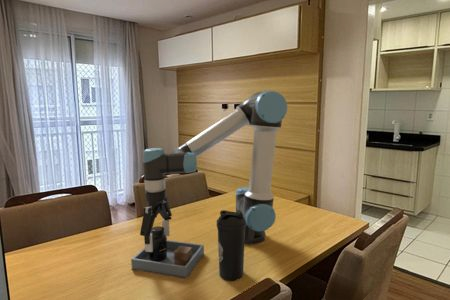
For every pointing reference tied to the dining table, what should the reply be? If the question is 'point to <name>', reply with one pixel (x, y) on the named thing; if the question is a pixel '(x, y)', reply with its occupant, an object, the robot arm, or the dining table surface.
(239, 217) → the water bottle
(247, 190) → the robot arm
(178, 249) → the walnut cube
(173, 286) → the dining table surface
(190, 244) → the tray
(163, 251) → the supplement bottle
